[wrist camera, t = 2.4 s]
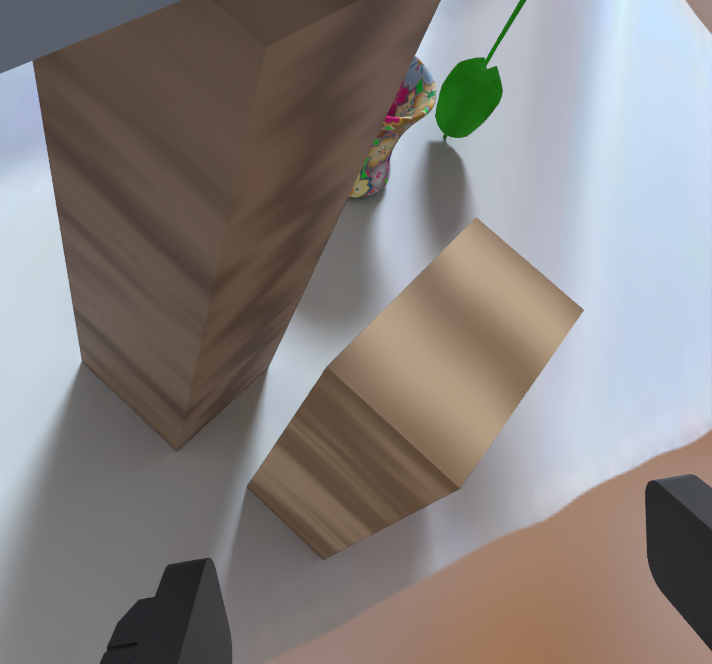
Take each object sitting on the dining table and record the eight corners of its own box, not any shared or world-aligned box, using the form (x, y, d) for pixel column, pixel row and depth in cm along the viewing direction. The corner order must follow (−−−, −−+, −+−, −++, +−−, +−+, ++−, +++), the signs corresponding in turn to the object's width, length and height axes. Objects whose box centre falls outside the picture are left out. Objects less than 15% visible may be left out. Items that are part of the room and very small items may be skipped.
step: (323, 559, 40) (459, 488, 24) (246, 486, 41) (326, 366, 24) (422, 435, 47) (583, 310, 30) (354, 373, 48) (476, 217, 31)
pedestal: (176, 451, 41) (266, 47, 14) (81, 360, 41) (-9, -190, 15) (268, 367, 46) (466, -55, 19) (181, 286, 46) (252, -229, 19)
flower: (423, 94, 66) (606, -258, 40) (488, 132, 66) (709, -192, 41) (395, 141, 61) (582, -224, 36) (466, 182, 61) (699, -150, 36)
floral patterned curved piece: (376, 131, 61) (418, 39, 52) (401, 207, 57) (451, 123, 48) (257, 124, 56) (281, 24, 47) (276, 207, 53) (305, 114, 44)
